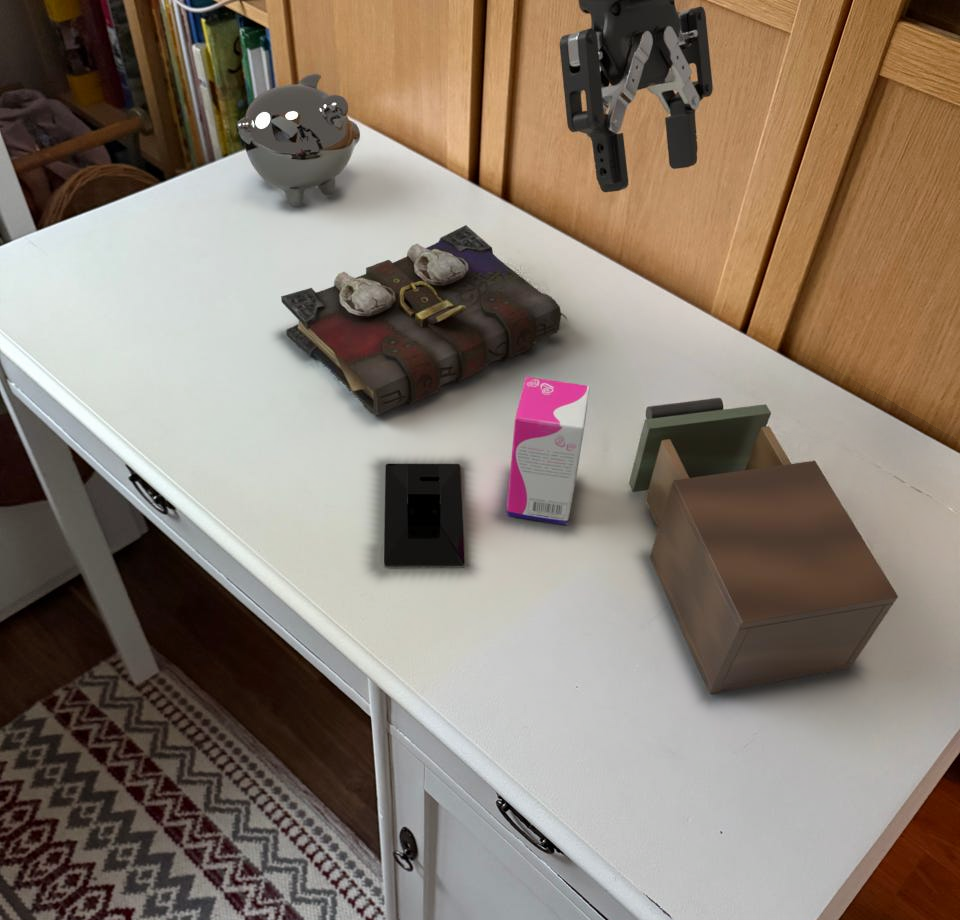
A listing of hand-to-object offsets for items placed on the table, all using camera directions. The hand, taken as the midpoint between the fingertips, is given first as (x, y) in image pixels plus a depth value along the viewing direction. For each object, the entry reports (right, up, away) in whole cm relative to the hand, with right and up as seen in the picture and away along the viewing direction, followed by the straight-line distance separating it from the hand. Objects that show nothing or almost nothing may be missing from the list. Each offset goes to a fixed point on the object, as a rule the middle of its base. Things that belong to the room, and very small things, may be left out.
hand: (650, 178), depth 72 cm
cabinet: (+10, -33, +8) cm, 35 cm away
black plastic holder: (-18, -24, +13) cm, 33 cm away
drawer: (+7, -24, +13) cm, 28 cm away
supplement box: (-8, -23, +15) cm, 28 cm away
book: (-19, -3, +28) cm, 34 cm away
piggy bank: (-35, +20, +43) cm, 59 cm away
